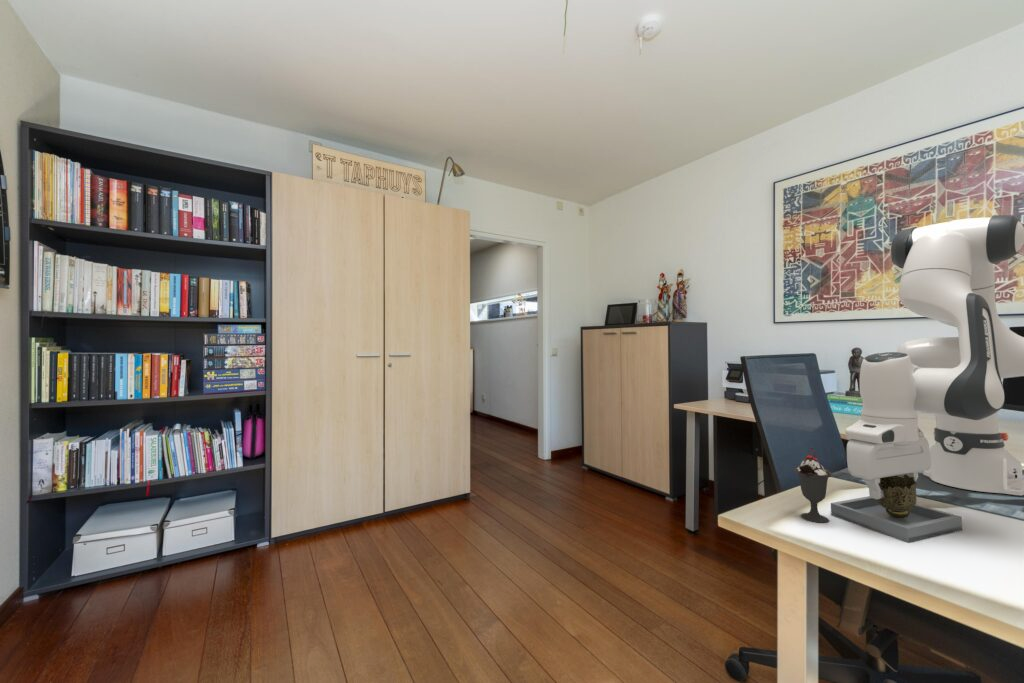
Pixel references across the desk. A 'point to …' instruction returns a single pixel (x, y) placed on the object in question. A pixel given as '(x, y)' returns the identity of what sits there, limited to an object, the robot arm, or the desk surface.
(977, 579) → the desk surface
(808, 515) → the sundae
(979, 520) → the desk surface
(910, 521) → the tray
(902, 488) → the cup
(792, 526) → the desk surface
